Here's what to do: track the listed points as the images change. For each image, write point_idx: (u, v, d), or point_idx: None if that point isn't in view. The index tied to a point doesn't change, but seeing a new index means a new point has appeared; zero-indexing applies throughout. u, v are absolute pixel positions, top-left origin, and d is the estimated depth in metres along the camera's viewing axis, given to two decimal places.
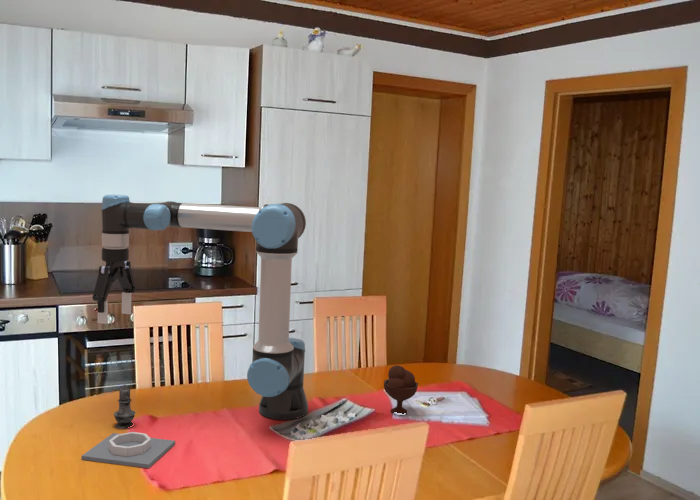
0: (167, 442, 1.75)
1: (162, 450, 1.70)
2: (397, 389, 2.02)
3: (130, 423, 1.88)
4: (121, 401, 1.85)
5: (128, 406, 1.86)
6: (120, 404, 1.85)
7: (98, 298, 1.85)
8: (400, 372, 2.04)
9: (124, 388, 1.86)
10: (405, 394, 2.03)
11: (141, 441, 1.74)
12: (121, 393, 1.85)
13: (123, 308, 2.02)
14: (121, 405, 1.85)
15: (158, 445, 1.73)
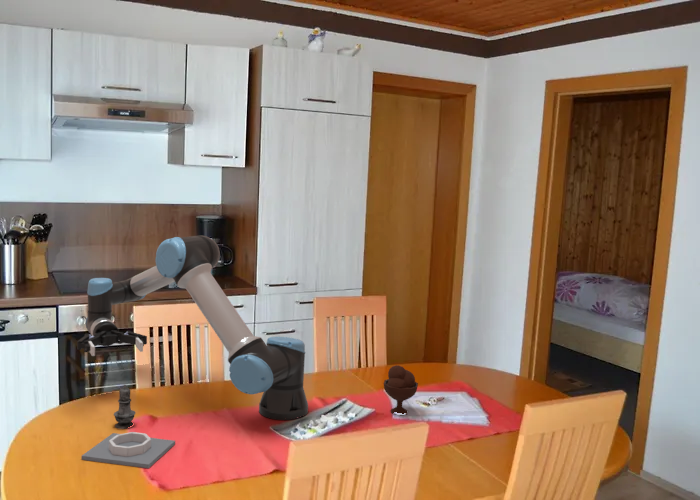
0: (167, 442, 1.75)
1: (162, 450, 1.70)
2: (397, 389, 2.02)
3: (130, 423, 1.88)
4: (121, 401, 1.85)
5: (128, 406, 1.86)
6: (120, 404, 1.85)
7: (77, 343, 1.95)
8: (400, 372, 2.04)
9: (124, 388, 1.86)
10: (405, 394, 2.03)
11: (141, 441, 1.74)
12: (121, 393, 1.85)
13: (139, 348, 1.98)
14: (121, 405, 1.85)
15: (158, 445, 1.73)
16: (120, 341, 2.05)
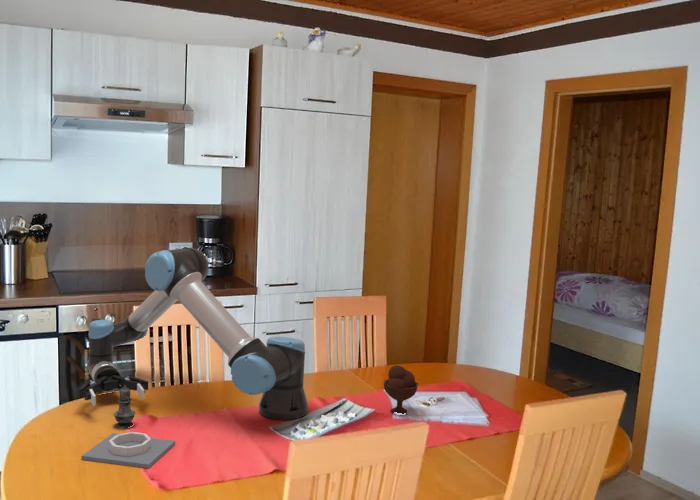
0: (167, 442, 1.75)
1: (162, 450, 1.70)
2: (397, 389, 2.02)
3: (130, 423, 1.88)
4: (121, 401, 1.85)
5: (128, 406, 1.86)
6: (120, 404, 1.85)
7: (78, 391, 1.93)
8: (400, 372, 2.04)
9: (124, 388, 1.86)
10: (405, 394, 2.03)
11: (141, 441, 1.74)
12: (121, 393, 1.85)
13: (140, 395, 1.96)
14: (121, 405, 1.85)
15: (158, 445, 1.73)
16: (121, 387, 2.03)
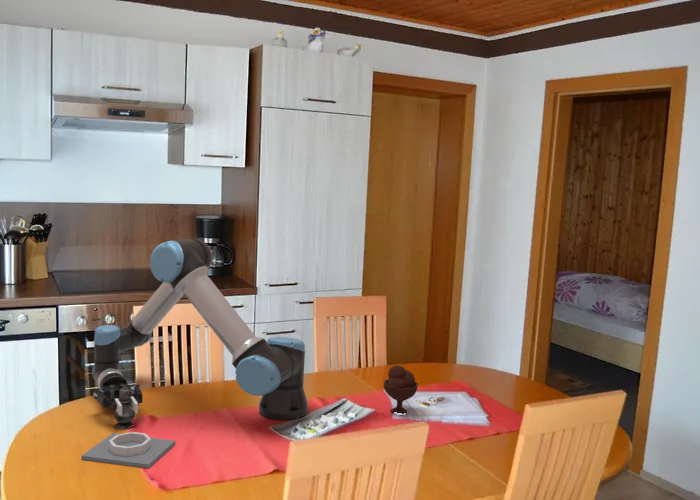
0: (167, 442, 1.75)
1: (162, 450, 1.70)
2: (397, 389, 2.02)
3: (130, 423, 1.88)
4: (121, 401, 1.85)
5: (128, 406, 1.86)
6: None
7: (103, 400, 1.86)
8: (400, 372, 2.04)
9: (124, 388, 1.86)
10: (405, 394, 2.03)
11: (141, 441, 1.74)
12: (121, 393, 1.85)
13: (134, 409, 1.84)
14: None
15: (158, 445, 1.73)
16: None
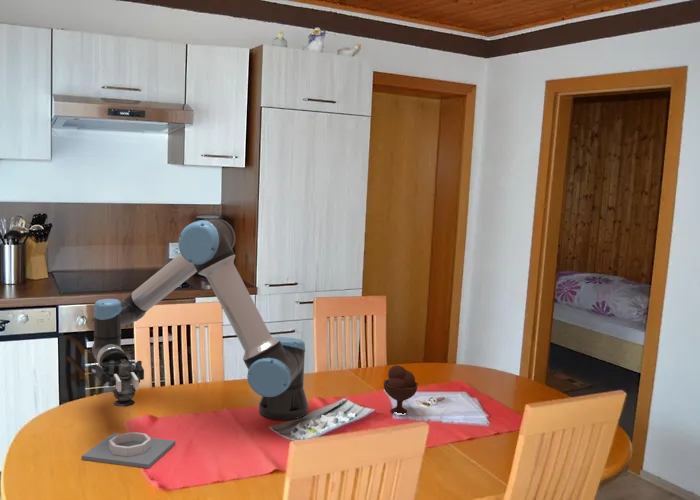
0: (167, 442, 1.75)
1: (162, 450, 1.70)
2: (397, 389, 2.02)
3: (130, 401, 1.74)
4: (120, 377, 1.71)
5: (128, 382, 1.72)
6: None
7: (101, 376, 1.72)
8: (400, 372, 2.04)
9: (124, 363, 1.72)
10: (405, 394, 2.03)
11: (141, 441, 1.74)
12: (120, 368, 1.71)
13: (134, 385, 1.70)
14: (121, 381, 1.71)
15: (158, 445, 1.73)
16: None
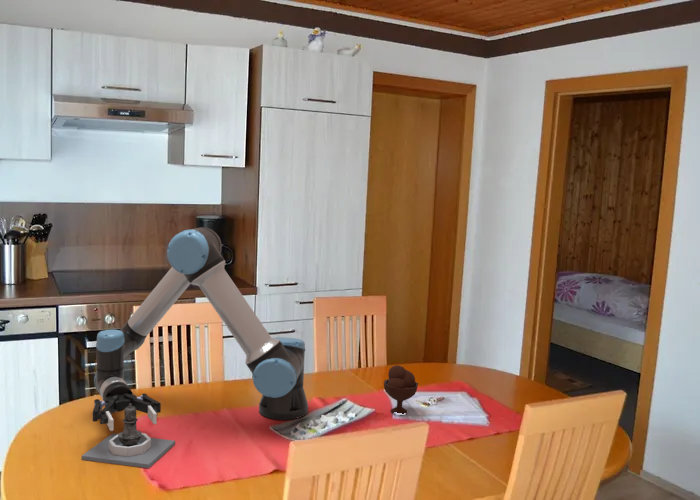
0: (167, 442, 1.75)
1: (162, 450, 1.70)
2: (397, 389, 2.02)
3: None
4: (126, 421, 1.68)
5: (134, 426, 1.69)
6: (125, 424, 1.68)
7: None
8: (400, 372, 2.04)
9: (129, 407, 1.69)
10: (405, 394, 2.03)
11: (141, 441, 1.74)
12: (126, 412, 1.68)
13: (152, 420, 1.70)
14: (127, 426, 1.68)
15: (158, 445, 1.73)
16: None
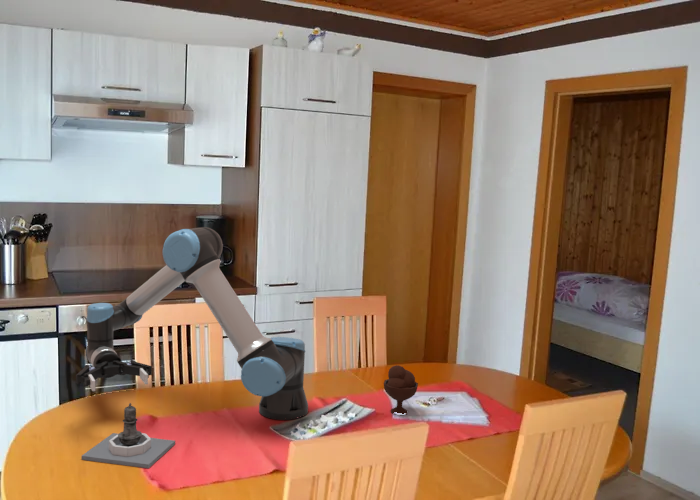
0: (167, 442, 1.75)
1: (162, 450, 1.70)
2: (397, 389, 2.02)
3: None
4: (126, 421, 1.68)
5: (134, 427, 1.69)
6: (125, 424, 1.68)
7: (76, 377, 1.79)
8: (400, 372, 2.04)
9: (129, 407, 1.69)
10: (405, 394, 2.03)
11: (141, 441, 1.74)
12: (126, 412, 1.68)
13: (143, 380, 1.82)
14: (126, 426, 1.68)
15: (158, 445, 1.73)
16: (123, 372, 1.89)
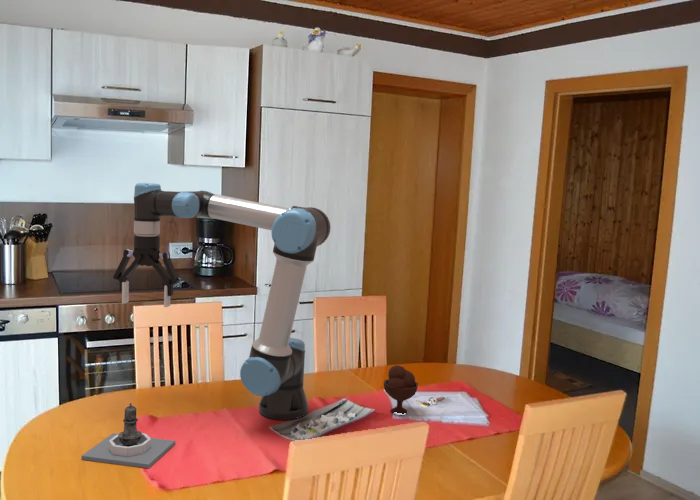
0: (167, 442, 1.75)
1: (162, 450, 1.70)
2: (397, 389, 2.02)
3: None
4: (126, 421, 1.68)
5: (134, 426, 1.69)
6: (125, 424, 1.68)
7: None
8: (400, 372, 2.04)
9: (130, 407, 1.69)
10: (405, 394, 2.03)
11: (141, 441, 1.74)
12: (127, 412, 1.68)
13: None
14: (127, 426, 1.68)
15: (158, 445, 1.73)
16: None
